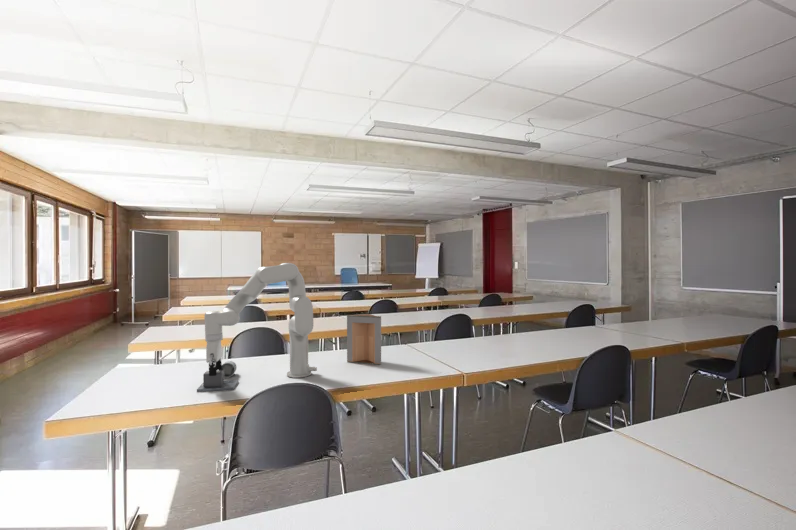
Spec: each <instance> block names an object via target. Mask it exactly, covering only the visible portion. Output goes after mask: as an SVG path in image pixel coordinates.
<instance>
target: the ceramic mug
mask: <svg viewBox="0 0 796 530" xmlns="http://www.w3.org/2000/svg"><path fill="white" fill-rule="evenodd" d="M221 370H224V379H228V378H231V377H232V376H234V374H235V373H236V371H237V364H236V362H234V361H232V360H227V361H225V362H224V363H222V369H221Z"/></svg>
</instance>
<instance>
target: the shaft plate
mask: <svg viewBox="0 0 796 530" xmlns="http://www.w3.org/2000/svg"><path fill="white" fill-rule="evenodd" d="M238 384H239V379H231V380H224V383H223V385H222V386H209V387H203V382H202V383H201V384H200V385H199V387H197V389H196V393H200V392H201V393H204V392H219V391H222V392H223V391H234V390H235V388H236V387H237V385H238Z"/></svg>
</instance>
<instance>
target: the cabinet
mask: <svg viewBox="0 0 796 530" xmlns="http://www.w3.org/2000/svg"><path fill="white" fill-rule="evenodd" d="M346 363H353V364H364V365H375V366H376V365H377V366H381V365H382V315H380V316H379V315H375V314H371V313H362V314H347V315H346Z"/></svg>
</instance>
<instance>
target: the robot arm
mask: <svg viewBox="0 0 796 530" xmlns="http://www.w3.org/2000/svg"><path fill="white" fill-rule="evenodd" d="M284 282H286V283H287V285H288V286H287V287H288V297H289V298H288V300H289V301H288V302H289V305H288V306H289V309H290V310H291V311H292V312H294V315H293V316H292V317H290V320H289V322H288V334H289V371H288V372H287V373H286V376H287V377H289V378H292V379H293V378H294V379H300V378H307V377H310V376H311V375H312V372H316V371H318V367H316V366H310V364H309V335H310V334H311V333H312V331H313V329H314V307H313V306H314V305H313V303H312V300H311V299H310V298H309V297H308V296H307V293H306V283H305V279H304V276H303V275H302V273H301V272H300V270H299V267H298V266H297V265H296V264H295V263H291V262H282V263H280V264H278V265H271V266H260V267H258V268H257V269H256V270H255V272H253V274H252V275H251V276H250V278H249V279H248V280H247V281H246V283H245V284H244V285H243V286H242V288H241V289H240V290H239V291H238V292H237V293H236V294H235V295H234V296H233V297H232V298H231V300H229V302H228V303H227V304H226V305H225V307H224V308H223V310H222V311H219V310H212V311H211V310H210V311H206V312H205V313H204V315H203V316H204V332H205V333H204V336H205V342H206V350H205V351H206V355H205V357H206V359H205V360H206V363H207V364H208V371H209V376H216V375H217V370H221V369H222V365H223V363H222V354H223V353H222V352H223V351H222V341H223V338H224V336H223V326H225V327H229V326H230V327H232V326H235V325H237V324H238V323H239V321H240V319H241V318H240V313H241V312H242V311H243V310H244V308H245V307H246V306H248V304H250V303H252V302H254V301H255V300H257V298H258V297H259V296H260V295H261V293H262V291H264V290H265V288H266V287H267V286H268V285H270V284H277V283H284Z"/></svg>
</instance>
